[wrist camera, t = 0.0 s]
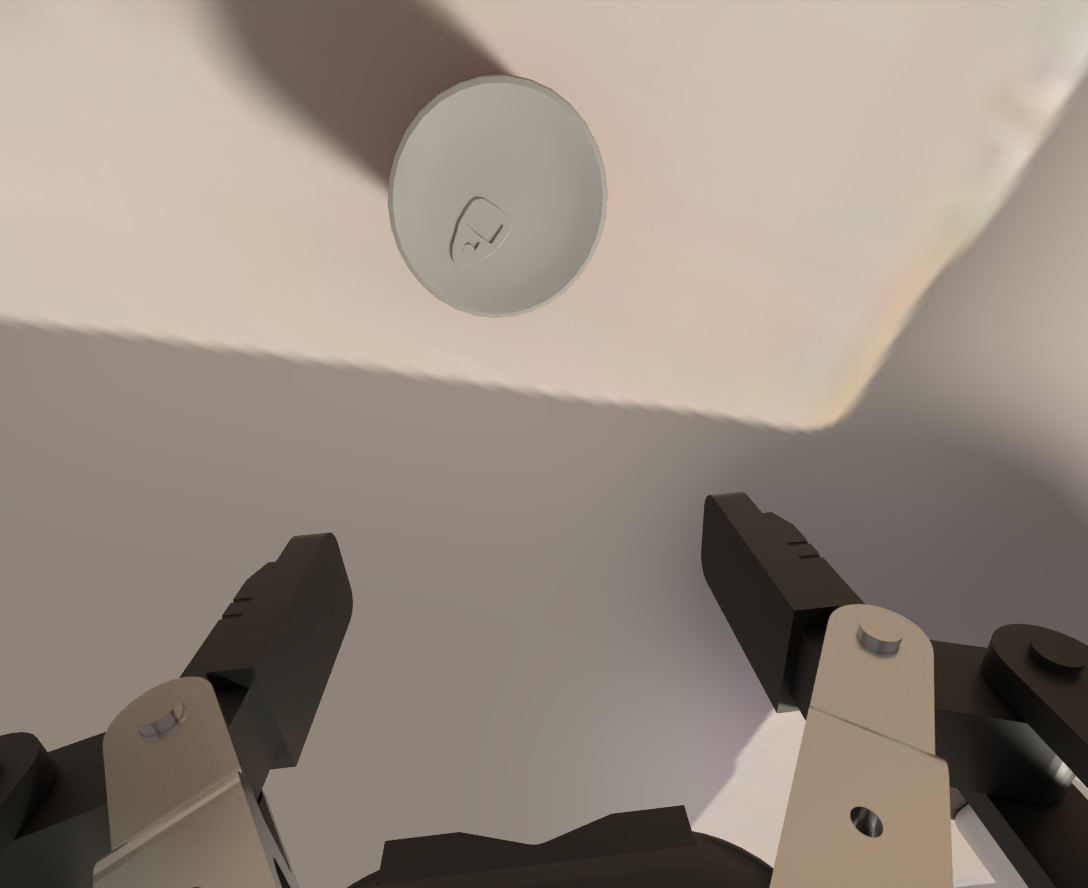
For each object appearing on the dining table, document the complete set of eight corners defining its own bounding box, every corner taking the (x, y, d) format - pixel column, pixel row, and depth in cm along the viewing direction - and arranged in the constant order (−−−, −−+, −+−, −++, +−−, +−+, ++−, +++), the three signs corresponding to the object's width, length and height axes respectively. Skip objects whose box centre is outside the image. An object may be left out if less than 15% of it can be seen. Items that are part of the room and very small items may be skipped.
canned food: (405, 222, 28) (362, 277, 19) (450, 53, 24) (423, 20, 15) (535, 275, 30) (553, 348, 21) (595, 127, 26) (649, 138, 17)
